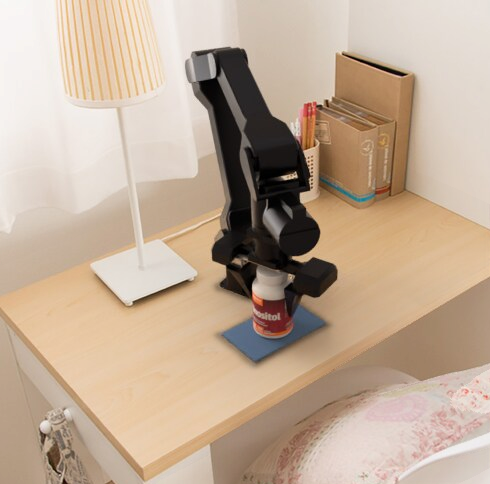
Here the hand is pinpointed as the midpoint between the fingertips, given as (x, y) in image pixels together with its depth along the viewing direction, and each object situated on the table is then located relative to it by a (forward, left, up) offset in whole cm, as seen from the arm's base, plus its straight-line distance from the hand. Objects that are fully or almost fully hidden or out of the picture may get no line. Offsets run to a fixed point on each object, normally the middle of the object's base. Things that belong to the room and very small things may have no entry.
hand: (273, 308), depth 113 cm
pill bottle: (0, 0, -4) cm, 4 cm away
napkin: (0, 0, -4) cm, 4 cm away
